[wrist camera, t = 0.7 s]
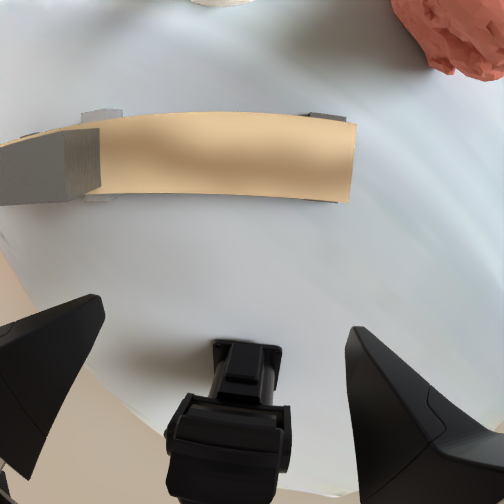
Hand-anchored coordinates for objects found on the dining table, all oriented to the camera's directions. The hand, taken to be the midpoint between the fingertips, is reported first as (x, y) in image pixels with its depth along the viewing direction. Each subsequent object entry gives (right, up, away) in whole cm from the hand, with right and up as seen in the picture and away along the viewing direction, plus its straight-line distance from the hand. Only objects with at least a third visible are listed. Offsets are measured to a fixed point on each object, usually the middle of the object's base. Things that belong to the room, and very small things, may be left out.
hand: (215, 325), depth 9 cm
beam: (-8, +9, +8) cm, 14 cm away
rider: (-12, +9, +7) cm, 17 cm away
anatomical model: (+15, +21, +3) cm, 26 cm away
